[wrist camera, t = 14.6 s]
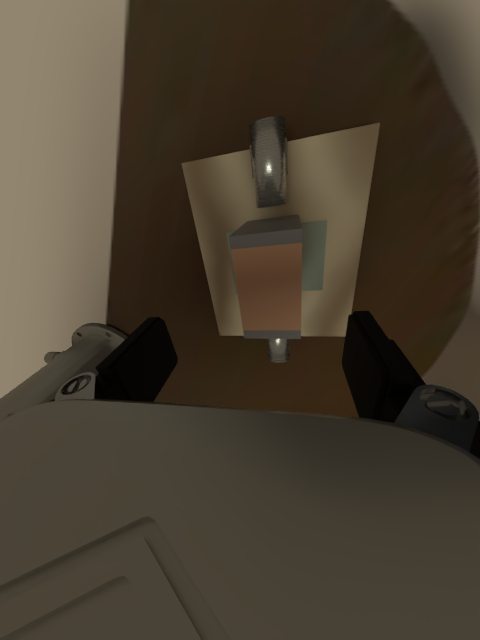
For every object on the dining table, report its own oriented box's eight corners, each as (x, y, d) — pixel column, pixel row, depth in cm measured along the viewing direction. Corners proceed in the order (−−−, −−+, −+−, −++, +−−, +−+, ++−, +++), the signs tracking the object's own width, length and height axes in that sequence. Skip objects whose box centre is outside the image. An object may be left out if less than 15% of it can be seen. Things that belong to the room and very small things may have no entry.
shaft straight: (258, 206, 18) (254, 208, 16) (252, 130, 16) (246, 122, 14) (286, 202, 18) (286, 204, 16) (285, 122, 15) (284, 113, 13)
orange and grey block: (247, 221, 19) (228, 236, 14) (298, 214, 18) (302, 228, 12) (255, 300, 23) (244, 338, 18) (298, 298, 22) (300, 338, 16)
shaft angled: (269, 345, 26) (266, 366, 23) (266, 306, 23) (263, 324, 20) (289, 346, 26) (289, 367, 23) (288, 306, 23) (288, 324, 20)
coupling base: (222, 328, 28) (215, 344, 26) (188, 164, 19) (171, 161, 17) (344, 328, 25) (351, 346, 22) (373, 127, 16) (390, 115, 13)
